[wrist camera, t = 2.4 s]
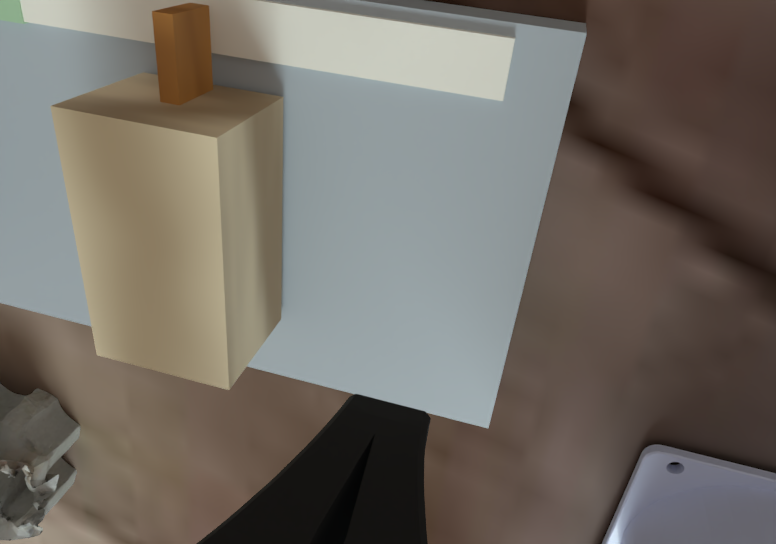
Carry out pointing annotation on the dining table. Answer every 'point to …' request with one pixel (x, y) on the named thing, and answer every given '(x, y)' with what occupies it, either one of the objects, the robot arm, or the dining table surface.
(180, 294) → the beige block with peg
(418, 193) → the gauge bed
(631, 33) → the dining table surface
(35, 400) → the egg carton
